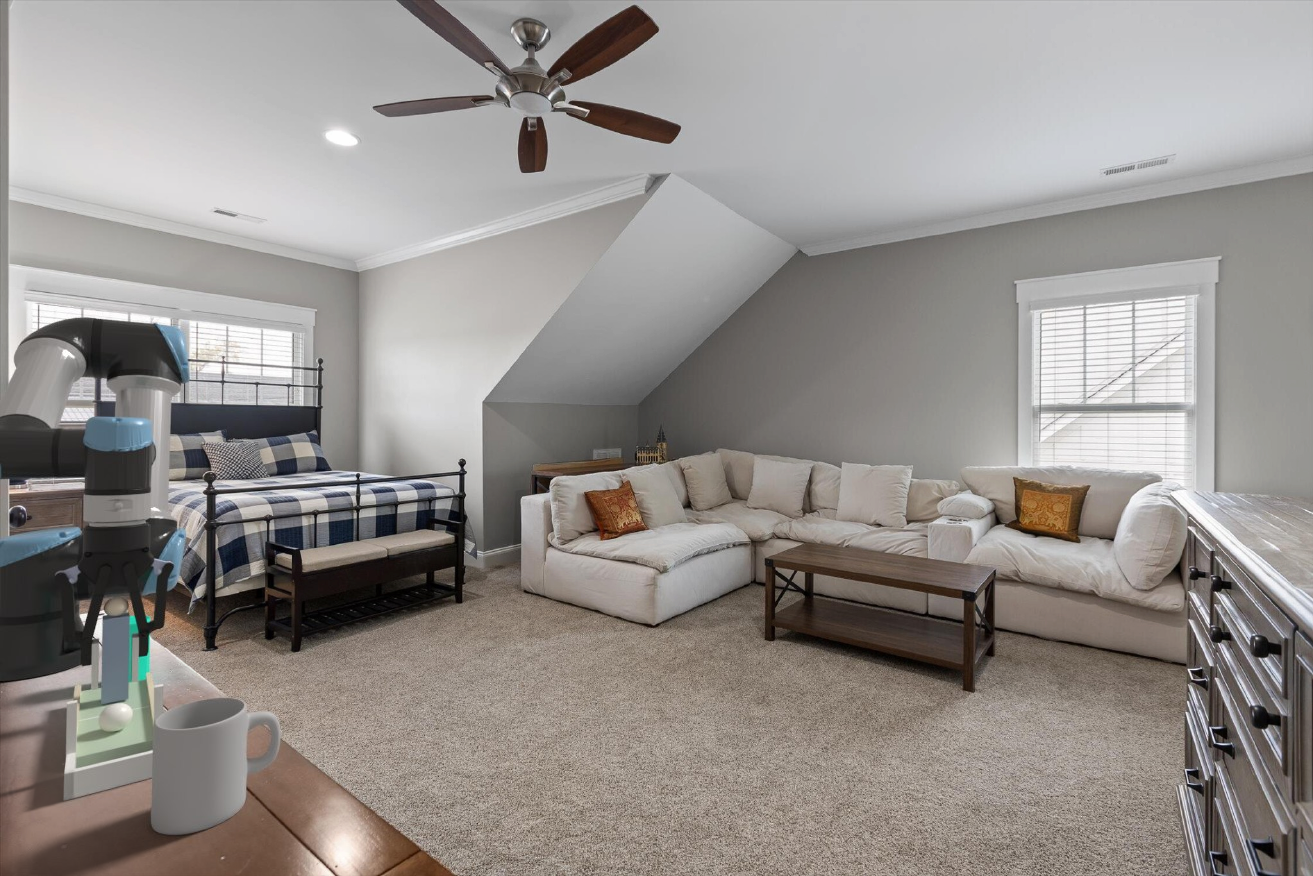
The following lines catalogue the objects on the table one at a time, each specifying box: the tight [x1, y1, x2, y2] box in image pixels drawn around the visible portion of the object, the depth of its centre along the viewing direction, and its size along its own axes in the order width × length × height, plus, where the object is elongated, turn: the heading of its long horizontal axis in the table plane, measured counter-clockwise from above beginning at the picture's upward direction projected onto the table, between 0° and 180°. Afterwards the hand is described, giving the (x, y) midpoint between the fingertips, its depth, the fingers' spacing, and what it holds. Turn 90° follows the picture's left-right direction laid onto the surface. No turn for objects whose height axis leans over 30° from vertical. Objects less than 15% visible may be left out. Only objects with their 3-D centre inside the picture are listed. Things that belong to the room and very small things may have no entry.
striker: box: [100, 596, 131, 704], centre depth 93 cm, size 3×3×15 cm
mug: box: [150, 697, 281, 836], centre depth 72 cm, size 12×8×11 cm
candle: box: [126, 610, 151, 682], centre depth 104 cm, size 6×6×12 cm
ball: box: [98, 703, 133, 732], centre depth 84 cm, size 4×4×4 cm
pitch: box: [72, 671, 155, 769], centre depth 89 cm, size 25×9×3 cm, turn 41°
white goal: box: [63, 683, 164, 802], centre depth 77 cm, size 6×9×9 cm
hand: (115, 682), depth 93 cm, fingers open, 4 cm apart
